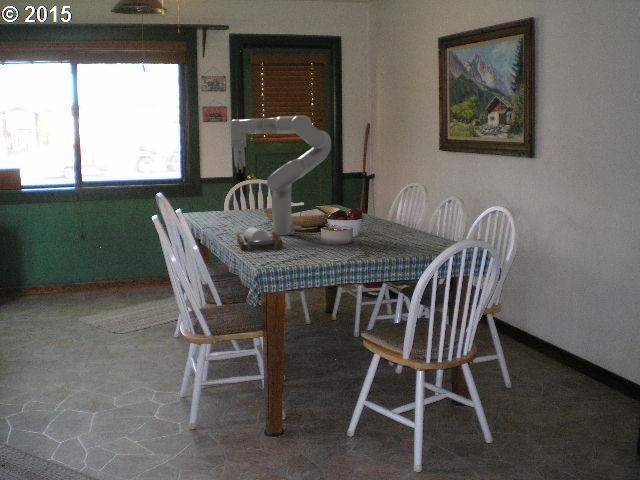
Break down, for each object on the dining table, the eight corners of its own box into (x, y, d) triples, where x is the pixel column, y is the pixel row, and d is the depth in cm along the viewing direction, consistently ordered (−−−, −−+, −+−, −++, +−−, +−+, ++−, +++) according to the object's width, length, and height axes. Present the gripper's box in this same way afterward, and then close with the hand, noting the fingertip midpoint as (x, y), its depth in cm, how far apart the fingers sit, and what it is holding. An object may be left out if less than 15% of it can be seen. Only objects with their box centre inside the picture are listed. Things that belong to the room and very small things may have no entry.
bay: (275, 239, 375) (274, 230, 374) (283, 249, 345) (282, 240, 345) (237, 241, 371) (236, 232, 371) (241, 251, 342) (241, 241, 341)
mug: (252, 248, 352) (251, 230, 350) (243, 245, 360) (243, 228, 359) (276, 245, 357) (275, 228, 356) (267, 242, 366) (267, 226, 364)
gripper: (247, 144, 382) (248, 181, 385) (244, 143, 397) (246, 179, 400) (232, 144, 381) (233, 182, 384) (230, 143, 395) (231, 179, 398)
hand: (239, 180), depth 392 cm, fingers closed
